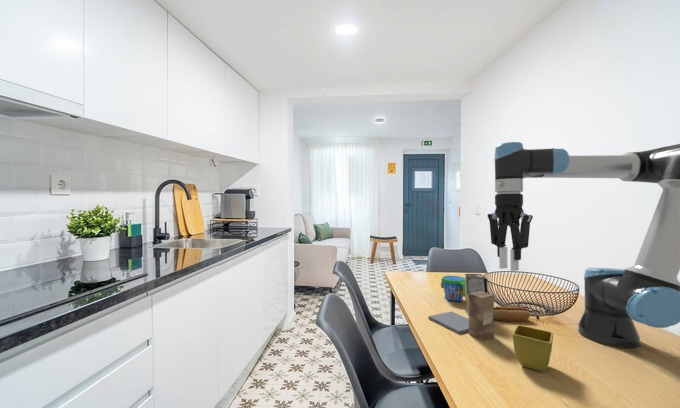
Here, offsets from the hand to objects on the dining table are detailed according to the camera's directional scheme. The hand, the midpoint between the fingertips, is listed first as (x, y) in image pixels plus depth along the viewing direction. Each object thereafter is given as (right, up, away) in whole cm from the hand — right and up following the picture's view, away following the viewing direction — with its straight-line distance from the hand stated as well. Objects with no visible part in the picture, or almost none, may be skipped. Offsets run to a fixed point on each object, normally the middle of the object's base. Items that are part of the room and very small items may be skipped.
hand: (508, 269), depth 90 cm
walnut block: (-4, -25, +9) cm, 27 cm away
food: (+14, -25, +23) cm, 37 cm away
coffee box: (+2, -25, +26) cm, 36 cm away
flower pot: (+1, -25, -10) cm, 26 cm away
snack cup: (+1, -25, +47) cm, 53 cm away
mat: (-9, -25, +19) cm, 33 cm away
